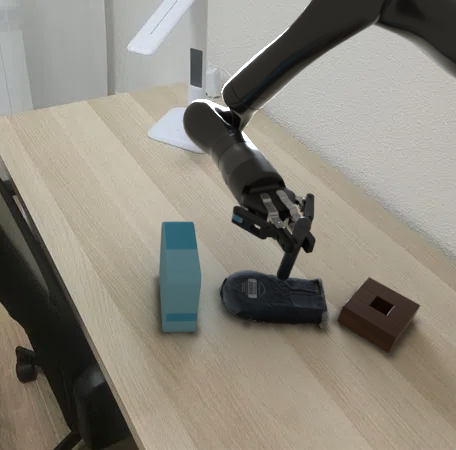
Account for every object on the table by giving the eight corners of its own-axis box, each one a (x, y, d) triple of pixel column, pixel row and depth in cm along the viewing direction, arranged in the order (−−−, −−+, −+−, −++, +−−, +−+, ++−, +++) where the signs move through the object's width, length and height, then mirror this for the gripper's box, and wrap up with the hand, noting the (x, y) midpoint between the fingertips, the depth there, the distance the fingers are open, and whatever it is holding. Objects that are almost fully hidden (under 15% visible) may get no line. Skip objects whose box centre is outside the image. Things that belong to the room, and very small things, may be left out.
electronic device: (312, 289, 87) (219, 272, 86) (325, 269, 83) (228, 250, 82) (316, 341, 81) (217, 323, 80) (331, 322, 77) (226, 302, 76)
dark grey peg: (279, 271, 82) (303, 211, 73) (289, 278, 82) (314, 219, 72) (273, 277, 81) (295, 218, 72) (283, 285, 81) (307, 226, 71)
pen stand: (362, 292, 85) (368, 276, 83) (412, 320, 81) (420, 304, 79) (336, 321, 80) (342, 305, 78) (388, 353, 76) (396, 337, 74)
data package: (194, 336, 77) (202, 277, 70) (162, 337, 77) (166, 277, 69) (187, 275, 87) (193, 216, 79) (158, 275, 86) (161, 216, 78)
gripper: (211, 162, 82) (261, 238, 70) (293, 150, 85) (355, 220, 73) (206, 202, 87) (252, 279, 75) (284, 189, 90) (341, 260, 78)
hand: (303, 249), depth 74 cm, fingers closed on dark grey peg, 2 cm apart
